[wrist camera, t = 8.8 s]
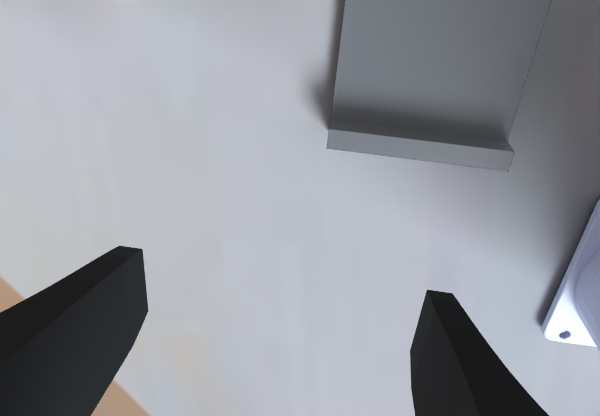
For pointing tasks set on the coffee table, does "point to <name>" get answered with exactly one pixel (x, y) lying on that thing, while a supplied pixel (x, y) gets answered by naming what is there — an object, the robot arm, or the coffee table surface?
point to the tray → (433, 78)
